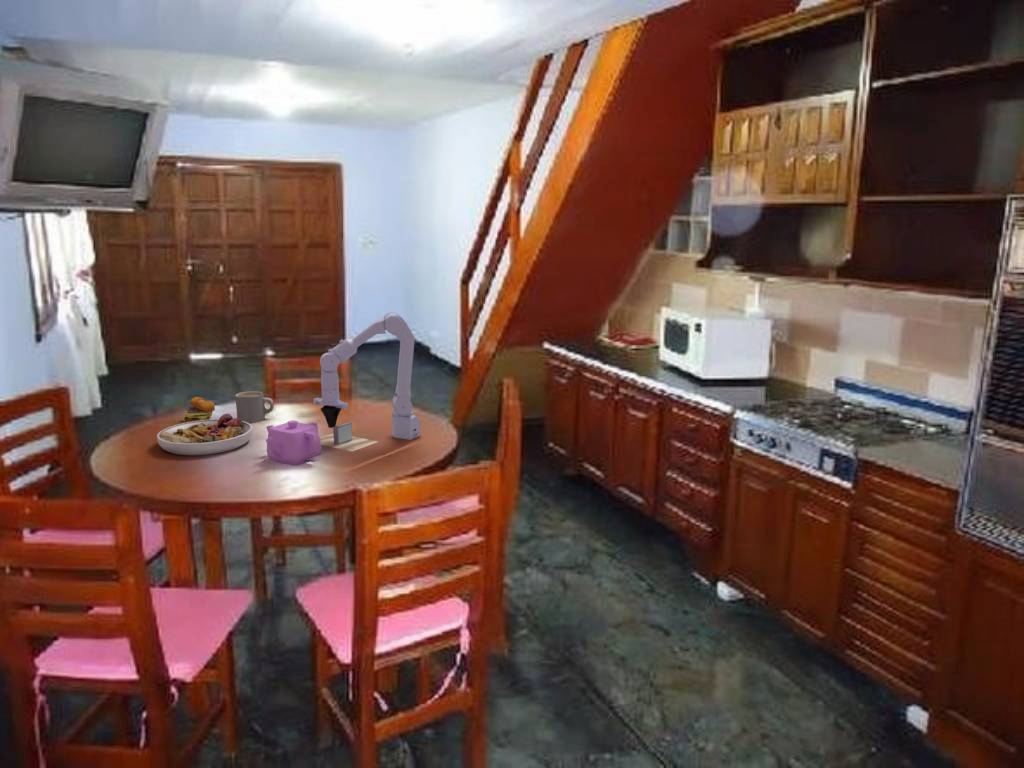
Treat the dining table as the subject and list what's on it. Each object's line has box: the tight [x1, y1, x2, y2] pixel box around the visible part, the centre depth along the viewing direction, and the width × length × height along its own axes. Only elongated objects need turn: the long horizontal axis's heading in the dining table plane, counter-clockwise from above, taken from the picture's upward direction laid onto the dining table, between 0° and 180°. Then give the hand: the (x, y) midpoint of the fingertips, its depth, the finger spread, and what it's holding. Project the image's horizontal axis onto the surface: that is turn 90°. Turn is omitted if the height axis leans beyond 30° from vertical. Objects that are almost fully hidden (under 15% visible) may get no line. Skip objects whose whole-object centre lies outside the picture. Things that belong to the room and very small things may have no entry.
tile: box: [332, 421, 353, 445], centre depth 253 cm, size 2×7×6 cm, turn 149°
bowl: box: [156, 413, 253, 456], centre depth 253 cm, size 30×30×8 cm
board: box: [320, 433, 378, 453], centre depth 254 cm, size 20×13×1 cm, turn 59°
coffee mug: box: [235, 390, 275, 424], centre depth 284 cm, size 13×10×10 cm
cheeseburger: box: [181, 396, 216, 423], centre depth 282 cm, size 10×11×10 cm
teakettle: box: [265, 420, 322, 466], centre depth 239 cm, size 17×17×12 cm
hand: (331, 427), depth 255 cm, fingers closed
